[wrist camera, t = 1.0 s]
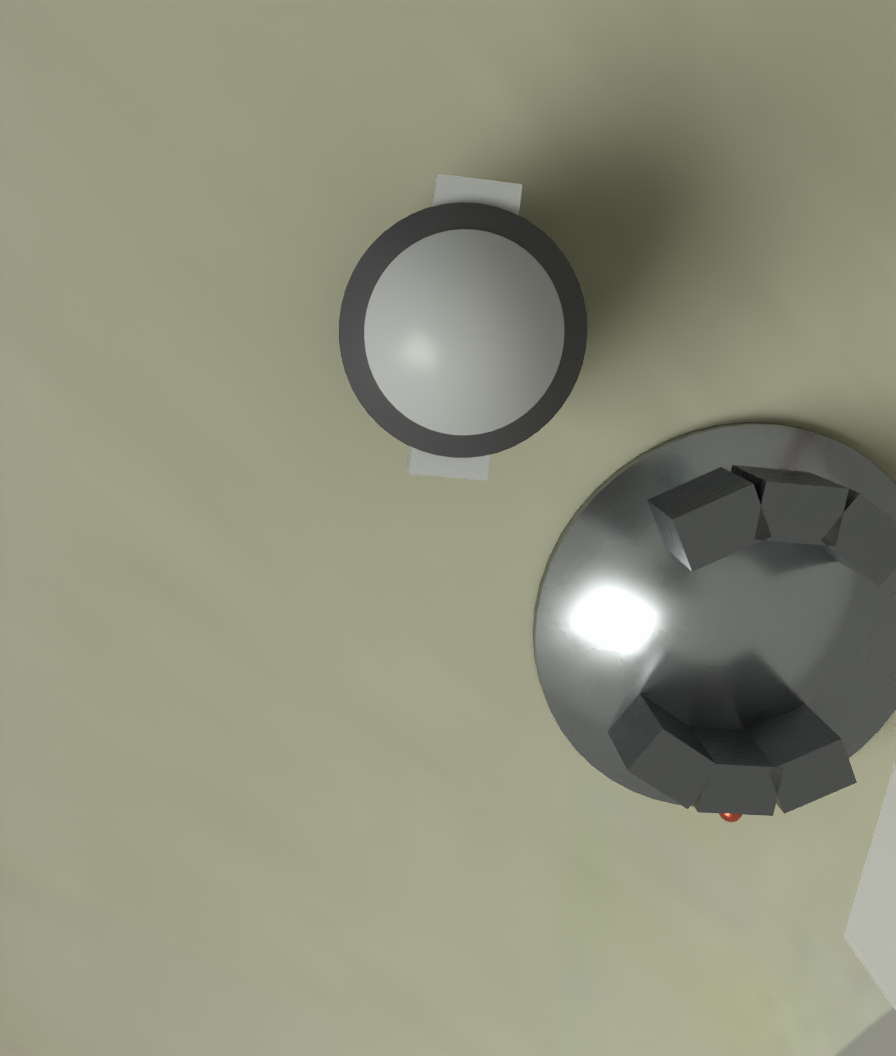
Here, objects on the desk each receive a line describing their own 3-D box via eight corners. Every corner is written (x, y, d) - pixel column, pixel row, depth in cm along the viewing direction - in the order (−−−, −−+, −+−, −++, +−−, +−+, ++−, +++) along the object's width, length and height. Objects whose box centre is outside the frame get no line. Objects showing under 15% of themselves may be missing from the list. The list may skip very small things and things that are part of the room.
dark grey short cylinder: (356, 191, 25) (349, 160, 19) (556, 215, 26) (610, 192, 20) (339, 430, 27) (328, 470, 21) (526, 447, 28) (567, 490, 22)
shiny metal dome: (563, 402, 27) (585, 416, 24) (971, 442, 29) (1037, 459, 26) (509, 790, 31) (522, 841, 28) (873, 807, 32) (921, 858, 29)
